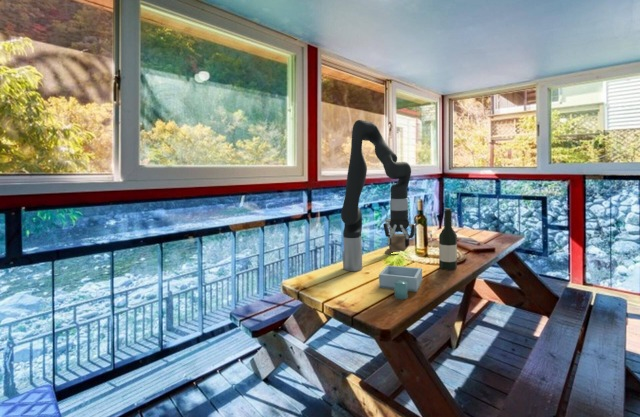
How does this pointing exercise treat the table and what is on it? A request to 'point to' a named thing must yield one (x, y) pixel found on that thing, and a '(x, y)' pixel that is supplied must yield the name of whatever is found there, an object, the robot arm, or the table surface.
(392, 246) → the walnut block
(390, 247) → the candle holder
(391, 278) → the blue-grey tote
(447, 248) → the wine bottle
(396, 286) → the teal glossy cylinder
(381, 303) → the table surface
